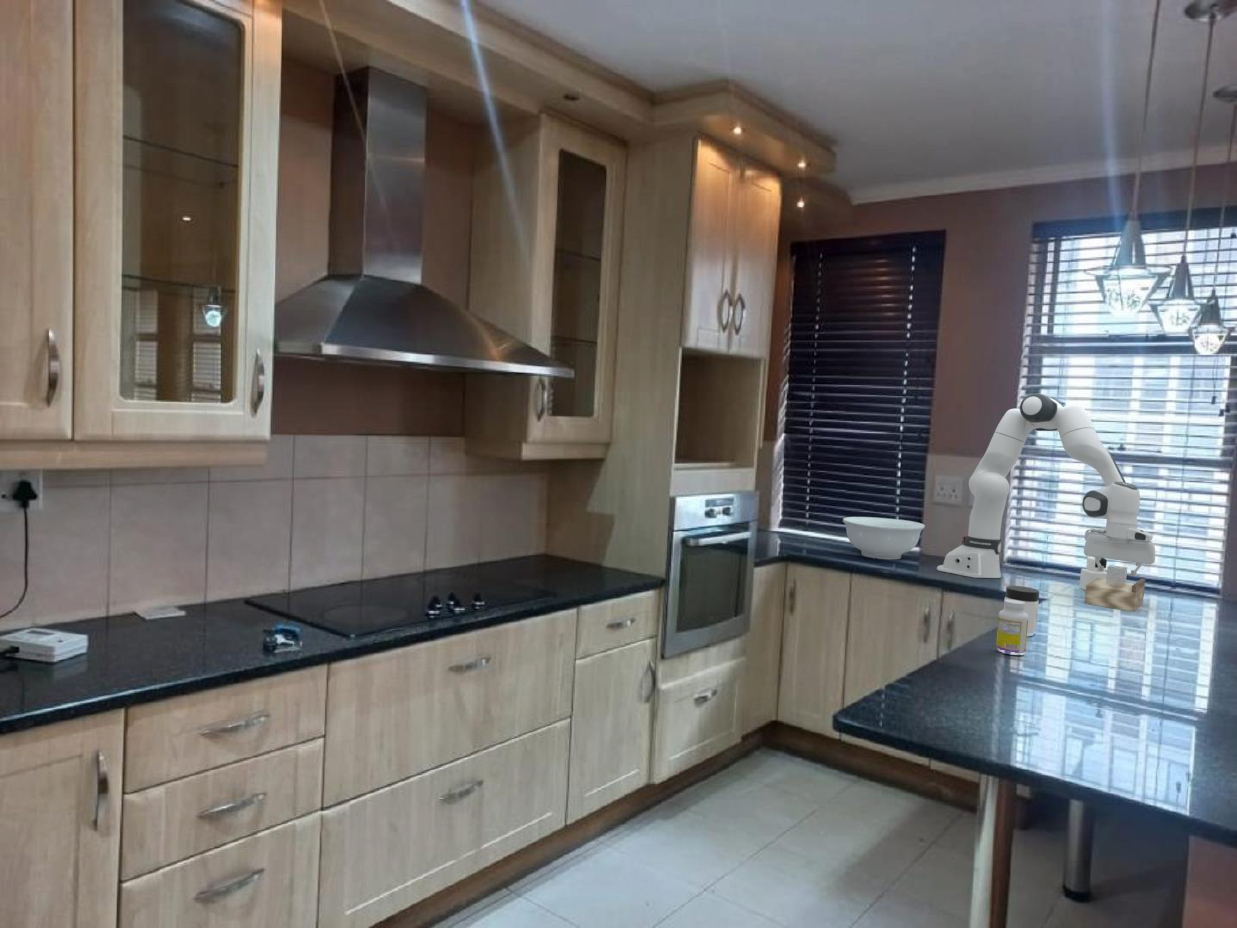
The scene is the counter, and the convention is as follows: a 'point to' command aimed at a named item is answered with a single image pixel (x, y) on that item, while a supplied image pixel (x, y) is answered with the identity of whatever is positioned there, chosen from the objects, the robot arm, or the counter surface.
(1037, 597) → the jar
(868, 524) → the bowl
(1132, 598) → the riser
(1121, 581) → the lock block
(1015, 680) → the counter surface
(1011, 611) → the supplement bottle
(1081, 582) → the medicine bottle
